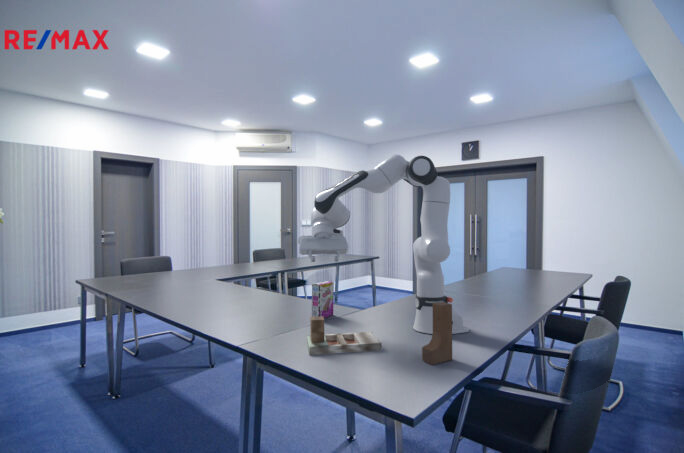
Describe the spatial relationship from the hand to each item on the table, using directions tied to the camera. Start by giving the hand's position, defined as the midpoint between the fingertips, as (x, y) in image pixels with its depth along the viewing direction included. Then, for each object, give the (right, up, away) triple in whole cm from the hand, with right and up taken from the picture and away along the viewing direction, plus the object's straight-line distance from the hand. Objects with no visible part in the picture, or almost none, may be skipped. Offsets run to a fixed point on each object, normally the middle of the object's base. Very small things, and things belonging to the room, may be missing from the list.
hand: (325, 260), depth 137 cm
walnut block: (-2, -27, -16) cm, 31 cm away
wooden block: (+37, -29, -28) cm, 55 cm away
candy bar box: (-2, -30, +27) cm, 40 cm away
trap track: (+7, -29, -14) cm, 33 cm away
